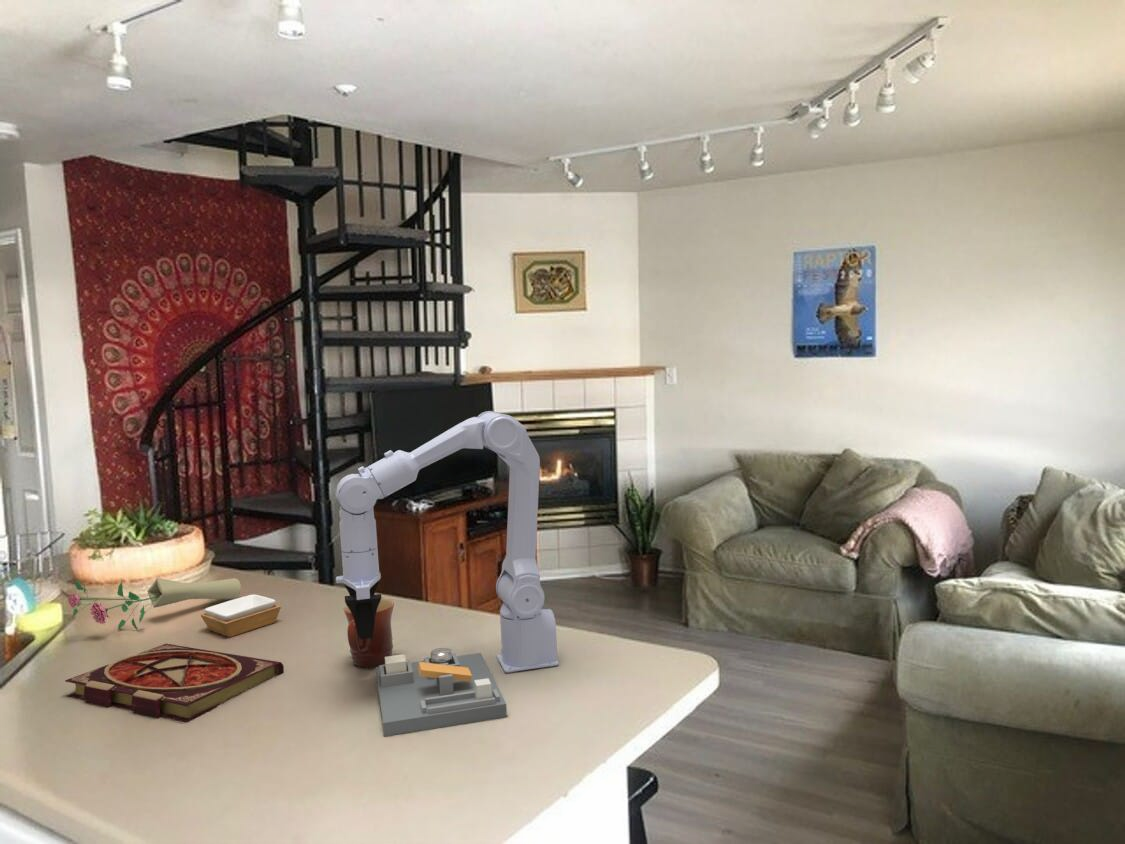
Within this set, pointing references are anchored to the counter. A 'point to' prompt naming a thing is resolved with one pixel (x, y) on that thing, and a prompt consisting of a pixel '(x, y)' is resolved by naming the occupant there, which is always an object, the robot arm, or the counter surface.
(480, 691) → the slider knob
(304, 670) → the counter surface
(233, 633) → the soap dish
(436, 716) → the console
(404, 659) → the button square
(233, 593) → the flower vase
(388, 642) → the mug
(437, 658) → the button round
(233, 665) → the book
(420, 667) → the rocker
